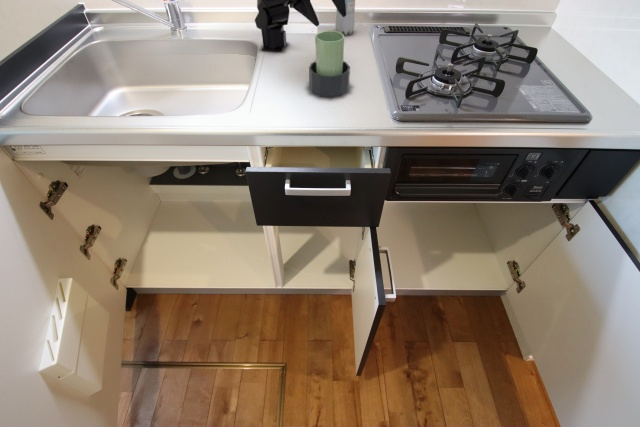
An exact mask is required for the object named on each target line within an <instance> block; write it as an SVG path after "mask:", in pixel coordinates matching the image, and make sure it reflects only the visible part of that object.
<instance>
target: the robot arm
mask: <svg viewBox="0 0 640 427" xmlns="http://www.w3.org/2000/svg"><path fill="white" fill-rule="evenodd" d="M331 2H332V3H333V5H334V7H335V8H336V10H338V11H339V13H340V14H341V15H342V17H345V16H346V5H345V0H331ZM256 8H257V11H258V13H257V15H256V16H255V18H254V24H255V26H256V28H257V29H259V30H260V31H261V38H262V47H261V51H268V52H280V53H281V52H282V51H283V50H284V48H286V46H287V44H288V43H287V33H286V30H285V28H284V27H285V26H287V25H288V23H289V17H290V11H291V10H290V9H294V10H295V11H296V12H297V13H299V14H301V15H302V16H303V17H304V18H306V19H307V20H308V21H309V22H310V23H311V24H313V25H314V26H315V27H319V26H320V21H319V19H318V18H319V17H318V16H317V14H316V10H315V9H314V6H313V4H312V2H311V0H256Z"/></svg>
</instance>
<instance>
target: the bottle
mask: <svg viewBox="0 0 640 427" xmlns="http://www.w3.org/2000/svg"><path fill="white" fill-rule="evenodd" d="M345 5H346V16H345V17H342V15H341V14H340V13H339V11H338V10H337V9H336V11H335V12H336V14H335V25H334V26H335V31H337V32H340V33H342V34H343V35H344V36H347V35H352V33H353V31H354V29H355V10H356V9H355V8H356V0H345Z"/></svg>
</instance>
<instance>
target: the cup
mask: <svg viewBox="0 0 640 427" xmlns="http://www.w3.org/2000/svg"><path fill="white" fill-rule="evenodd" d="M314 38H315V61H316V73H317V74H319V75H322V76H336V75H341V74H343V61H344V55H345V34H344V33H343V32H342V33H340V32H337V31H336V30H324V31H323V30H322V31H320V32H317V33H316V35H315V37H314Z"/></svg>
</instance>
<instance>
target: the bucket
mask: <svg viewBox="0 0 640 427" xmlns="http://www.w3.org/2000/svg"><path fill="white" fill-rule="evenodd" d="M350 72H351V66H350V65H349V64H348V62H346V61H344V60H343V74H341V75H336V76H322V75H319V74H317V73H316V60H315V61H313V62H311V63H310V65H309V67H308V85H309V86H308V88H309V90H310V92H311V93H312V94H313V95H315V96H317V97H320V98H328V99H333V98H337V97H342V96H343V95H345V94H346V93H348V91H349V88H350V74H351V73H350Z"/></svg>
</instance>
